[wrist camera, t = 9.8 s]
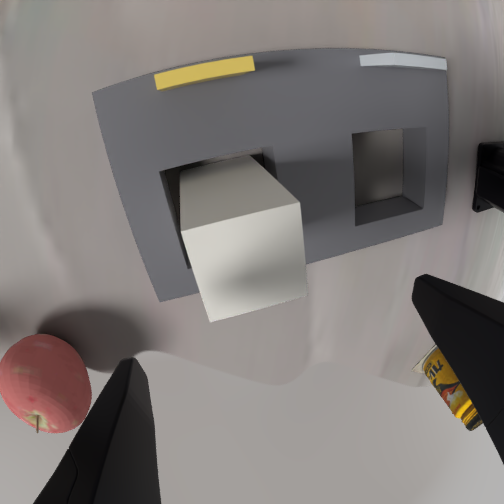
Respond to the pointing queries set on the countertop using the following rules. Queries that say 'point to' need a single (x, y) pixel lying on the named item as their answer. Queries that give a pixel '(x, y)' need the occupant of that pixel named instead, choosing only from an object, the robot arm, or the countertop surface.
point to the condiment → (448, 387)
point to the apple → (45, 383)
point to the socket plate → (279, 143)
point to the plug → (241, 237)
